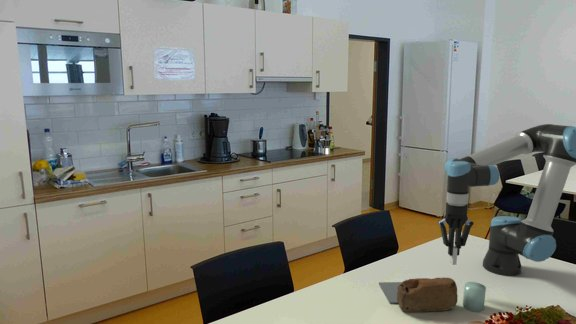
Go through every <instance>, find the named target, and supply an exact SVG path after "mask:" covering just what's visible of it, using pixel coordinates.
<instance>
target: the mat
mask: <svg viewBox="0 0 576 324" xmlns="http://www.w3.org/2000/svg"><path fill="white" fill-rule="evenodd" d="M402 282H403V281H398V282H397V281H395V282H394V281H391V282H390V281H389V282H383V281H381V282H378V285H379V287H380V289H381V290H382V292H383V294H384V296H385V297H386V299H387V301H388V303H389V304H390V305H399V303H398V301H397V291H398V289H397V288H398V285H399V284H401V283H402Z"/></svg>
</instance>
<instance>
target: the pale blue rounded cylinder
mask: <svg viewBox="0 0 576 324" xmlns="http://www.w3.org/2000/svg"><path fill="white" fill-rule="evenodd" d="M463 288H464V289H463V299H462V308H464V309H465V310H467V311H470V312H474V313H481V312H483V311H484V310H485V302H486V300H485V299H486V291H487V287H486V286H485V285H484V284H482V283H480V282H477V281H476V282H475V281H467V282H465V283H464V286H463Z"/></svg>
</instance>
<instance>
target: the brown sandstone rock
mask: <svg viewBox="0 0 576 324" xmlns="http://www.w3.org/2000/svg"><path fill="white" fill-rule="evenodd" d="M401 282H402V283H401V284H399V285H398V288H397V289H398V291H397V301H398V303H399V304H398V306H399V309H400V310H401V311H402V312H409V313H410V312H411V313H414V312H419V313H420V312H441V311H448V310H450V309H452V308H455V307H456V306H457V305H458V298H459V296H458V285H457V283H456V281H455V280H454V279H453V278H451V277H434V278H428V277H427V278H425V277H424V278H423V277H422V278H416V277H415V278H409V279H404V280H403V281H401Z"/></svg>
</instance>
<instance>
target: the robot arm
mask: <svg viewBox="0 0 576 324" xmlns="http://www.w3.org/2000/svg"><path fill="white" fill-rule="evenodd" d="M532 153H543V155H542V157H543V158H544V159H545V164H544V167H543V169H542V171H541V176H540V177H539V181H538V183H537V186H536V190H535V193H534V196H533V198H532V202H531V204H530V207H529V210H528V214H527V216H526V218H525V219H521V218H520V217H517V216H509V215H507V216H505V215H502V216H501V215H500V216H499V215H498V216H494V217H493V218H492V219H491V221H490V226H489V240H488V241H489V242H488V250H486V251H487V252H486V253H485V256H484V257H483V260H482V267H483V268H484V269H485V270H487V271H489V272H491V273H494V274H496V275H500V276H501V275H502V276H512V277H513V276H518V275H520V274H521V273H522V267H523V266H522V264H521V258H520V256H521V257H524V258H525V259H527V260H530V261H532V262H537V263H540V262H544V261H546V260H547V259H550V258H551V257H552V255H553V254H555V253H554V252H555V251H556V249H557V242H556V239H555V238H554V237H553V235H554V229H553V228H552V223H553V220H554V217H555V214H556V211H557V209H558V206H559V204H560V199H561V197H562V194H563V192H564V189H565V185H566V183H567V179H568V177H569V174H570V171H571V169H572V167H574V166H576V126H573V125H561V124H560V125H559V124H552V123H551V124H550V123H545V124H540V125H537V126H536V125H535V126H533V127H529V128H527V129H525V130H522V131H519V132H518V133H517V132H516V134H515V135H514V137H512V138H509V139H506V140H504V141H501V142H499V143H496V144H494V145H492V146H489V147H486V148H484V149H482V150H479V151H476V152H474V153H471V154H469V155H467V156H464V157H462V158H450V159H448V160H447V161H446V163H445V164H444V171H445V174H446V175H447V181H446V182H447V183H446V184H447V185H446V197H445V198H446V200H445V202H446V203H445V215H444V217H443V219H442V220H438V221H437V223H438V225H439V228H440V232H441V237H442V242H443V245H444V246H446V247H448V248H447V254H448V255H449V263H450V264H451V265H453V266H456V265H457V261H458V259H457V258H458V256H459V255H460V252H461V251H460V249H462V247H465V246H466V245H467V240H468V238H469V234H470V231H471V229H472V227H473V226H474V222H473V221H472V220H470V219H468V218H469V217H468V207H469V205H468V204H469V195H470V194H469V193H470V188H475V187H489V186H493V185H496V184H498V182H499V180H500V176H501V175H500V171H499V168H497V167H496V165H498V164H500V163H503V162H505V161H508V160H510V159H513V158H515V157H518V156H520V155H522V154H524V155H529V154H532ZM446 224H447V225H448V231H447V228H446Z"/></svg>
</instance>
